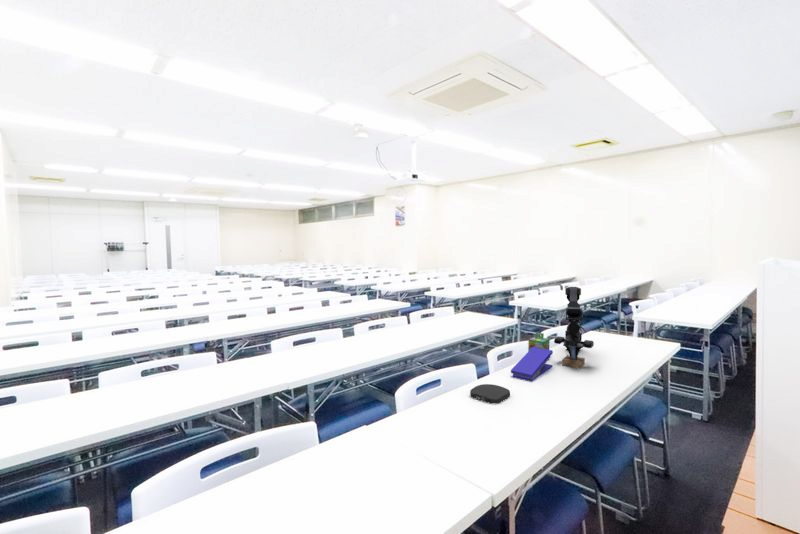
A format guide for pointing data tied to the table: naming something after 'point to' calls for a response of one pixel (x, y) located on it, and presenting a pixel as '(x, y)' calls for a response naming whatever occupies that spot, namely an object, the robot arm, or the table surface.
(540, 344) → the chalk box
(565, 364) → the socket
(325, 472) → the table surface
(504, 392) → the media streaming box
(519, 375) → the purple foot pedal
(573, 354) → the peg
